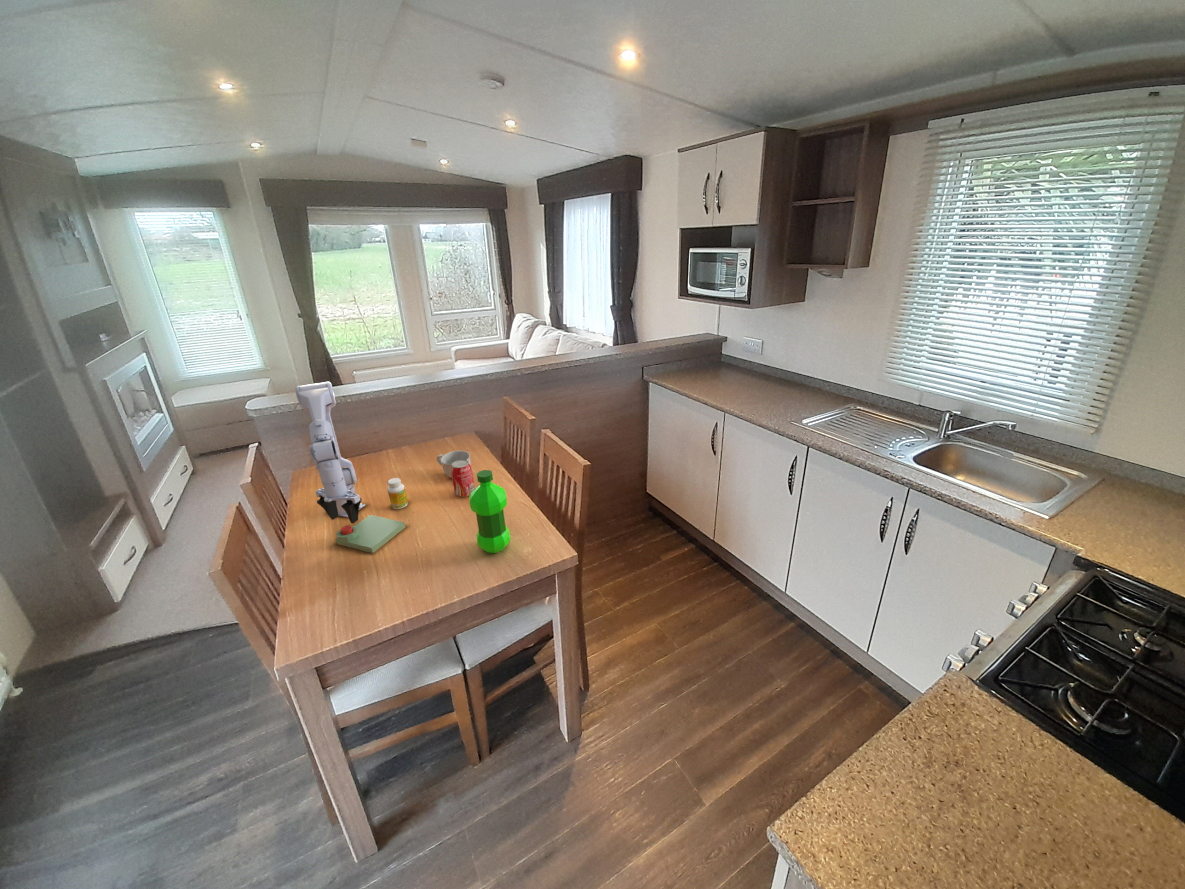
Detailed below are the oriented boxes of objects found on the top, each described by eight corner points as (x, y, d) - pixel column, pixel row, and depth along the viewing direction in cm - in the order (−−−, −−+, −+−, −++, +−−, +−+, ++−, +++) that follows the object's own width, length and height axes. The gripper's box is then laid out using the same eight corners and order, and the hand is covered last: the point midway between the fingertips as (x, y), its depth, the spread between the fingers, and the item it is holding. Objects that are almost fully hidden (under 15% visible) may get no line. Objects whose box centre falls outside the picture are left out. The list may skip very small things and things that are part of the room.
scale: (334, 544, 144) (331, 535, 143) (370, 519, 157) (368, 510, 155) (371, 554, 140) (369, 544, 138) (405, 527, 152) (403, 518, 150)
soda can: (456, 488, 173) (451, 459, 168) (476, 487, 173) (472, 458, 168) (453, 499, 167) (447, 468, 161) (473, 497, 167) (469, 467, 162)
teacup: (478, 472, 184) (475, 453, 181) (457, 484, 176) (454, 465, 172) (453, 464, 191) (450, 446, 187) (432, 475, 183) (428, 457, 179)
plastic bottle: (518, 550, 139) (509, 475, 129) (484, 563, 134) (472, 486, 124) (505, 533, 147) (495, 461, 136) (472, 545, 142) (459, 471, 132)
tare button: (339, 534, 144) (338, 530, 143) (347, 528, 146) (346, 524, 146) (347, 536, 143) (345, 532, 142) (354, 530, 145) (353, 526, 145)
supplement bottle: (402, 510, 161) (396, 485, 157) (388, 508, 162) (382, 484, 158) (411, 501, 166) (405, 477, 162) (397, 500, 167) (391, 476, 163)
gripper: (302, 483, 136) (315, 523, 141) (341, 489, 131) (353, 530, 137) (322, 472, 142) (334, 510, 147) (360, 477, 137) (371, 517, 143)
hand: (344, 519), depth 142 cm, fingers open, 7 cm apart
